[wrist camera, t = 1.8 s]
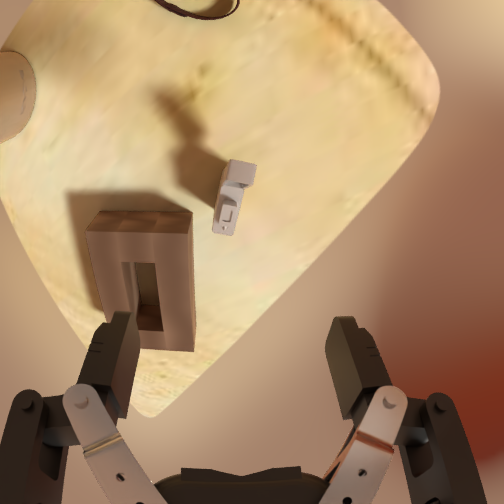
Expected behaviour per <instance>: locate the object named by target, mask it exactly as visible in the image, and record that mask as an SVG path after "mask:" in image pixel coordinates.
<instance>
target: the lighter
mask: <svg viewBox="0 0 504 504" xmlns="http://www.w3.org/2000/svg"><path fill="white" fill-rule="evenodd" d="M256 167H257V165H256V164H252V163H247V162H243V161H238V160H232V159H230V160H229V162H228V164H227V166H226V167H225V168H224V169H223V171H222V175H221V180H220V185H219V189H218V194H217V199H216V203H215V208H214V218H213V227H212V231H213V232H214V233H218V234H223V235H229V236H232V235H233V234H234V230H235V226H236V222H237V218H238V214H239V210H240V206H241V202H242V198H243V194H244V189H246V188H248V187H250V186H252V185H253V182H254V177H255V172H256Z"/></svg>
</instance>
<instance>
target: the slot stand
mask: <svg viewBox="0 0 504 504" xmlns="http://www.w3.org/2000/svg"><path fill="white" fill-rule="evenodd" d="M85 234H86V239H87V244H88V249H89V254H90V259H91V263H92V267H93V272H94V276H95V280H96V284H97V288H98V292H99V296H100V300H101V303H102V307H103V311H104V314H105V318H106V321H107V323H111V320H112V317H113V314H114V312H115V311H128V312H134V314H135V318H136V322H137V327H138V331H139V336H140V348H142V349H155V350H169V351H187V352H194V345H195V334H196V311H195V289H194V258H193V213H190V212H141V211H100V212H99V213H98V215H97V216H96V217H95V218H94V220H93V221H92V222H91V224H90V225H89V227H88V228H87V229H86V231H85ZM135 262H140V263H155V269H156V278H157V286H158V294H159V301H160V306H156V305H142V303H141V298H140V292H139V286H138V280H137V273H136V267H135Z"/></svg>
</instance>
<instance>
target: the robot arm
mask: <svg viewBox="0 0 504 504" xmlns="http://www.w3.org/2000/svg"><path fill="white" fill-rule="evenodd" d="M35 99H36V83H35V77H34V73H33V70H32V68H31V66H30V64H29V62H28V61H27V60H26V59H25V58H24V57H23V56H22V55H20V54H18V53H16V52H12V51H8V52H0V144H1V143H3V142H5V141H7V140H9V139H11V138H13V137H15V136H16V135H17V134H18V133H20V132H21V130H22V129H23V128H24V127H25V126H26V124H27V122H28V120H29V119H30V117H31V114H32V111H33V108H34V104H35ZM325 352H326V358H327V361H328V365H329V368H330V372H331V376H332V379H333V383H334V387H335V390H336V394H337V398H338V402H339V406H340V409H341V413H342V417H343V420H347V419H352V420H353V423H354V425H353V427H352V428H351V430H350V432H349V434H348V436H347V438H346V440H345V441H344V443H343V445H342V447H341V449H340V451H339V452H338V454H337V456H336V458H335V460H334V461H333V463H332V464H331V466H330V467H329V469H328V470H327V471H326V473H325V475H324V476H323V478H319V477H317V476H315V475H312V474H308V473H303V472H301V467H300V466H297V467H284V468H272V469H268V470H264V471H261V472H257V473H253V474H249V475H245V476H238V475H233V474H228V473H224V472H219V471H216V470H212V469H193V468H181V474H177V475H173V476H170V477H167V478H164V479H162V480H160V481H158V482H157V483H155V484H154V485H153V483H152V482H151V480H150V479H149V478H148V476H147V475H146V474H145V472H144V471H143V469H142V468H141V466H140V465H139V463H138V462H137V460H136V459H135V457H134V456H133V454H132V453H131V451H130V449H129V448H128V446H127V444H126V443H125V442H124V440H123V438H122V437H121V435H120V433H119V431H118V430H117V428H116V424H117V420H118V418H124V419H126V417H127V412H128V406H129V401H130V396H131V391H132V386H133V381H134V376H135V372H136V367H137V362H138V358H139V354H140V336H139V331H138V327H137V322H136V318H135V314H134V312H128V311H115V312H114V314H113V317H112V320H111V323H104V322H103V323H102V324H101V325H100V326H99V327H98V329H97V330H96V331H95V333H94V335H93V338H92V341H91V344H90V346H89V349H88V352H87V355H86V358H85V360H84V363H83V366H82V369H81V372H80V375H79V378H78V381H77V383H76V385H73V386H71V387H70V388H69V389H68V390H67V391H66V392H65V394H63V395H59V396H52V397H41V395H40V394H39V393H38V392H36V391H35V390H30V389H29V390H23V391H21V392H20V393H18V394H17V395H16V397H15V398H14V400H13V402H12V406H11V409H10V412H9V415H8V418H7V422H6V425H5V429H4V432H3V436H2V440H1V444H0V504H61V501H62V492H63V483H64V476H65V468H66V462H67V455H68V449H69V446H72V445H81V446H82V448H83V450H84V452H83V454H84V457H85V459H86V461H87V463H88V465H89V467H90V469H91V471H92V472H93V474H94V476H95V478H96V480H97V481H98V483H99V485H100V486H101V488H102V490H103V491H104V493H105V495H106V497H107V498H108V500H109V501H110V503H111V504H371V503H372V501H373V499H374V497H375V495H376V493H377V491H378V489H379V487H380V484H381V482H382V480H383V478H384V476H385V474H386V471H387V469H388V467H389V464H390V462H391V460H392V457H393V454H394V449H392V447H393V445H398V446H399V450H400V454H401V458H402V462H403V466H404V471H405V475H406V480H407V484H408V489H409V493H410V498H411V503H412V504H487V501H486V497H485V494H484V490H483V487H482V483H481V480H480V477H479V473H478V470H477V466H476V463H475V460H474V457H473V454H472V452H471V448H470V445H469V443H468V439H467V437H466V434H465V431H464V428H463V426H462V423H461V420H460V418H459V415H458V412H457V410H456V407H455V405H454V403H453V401H452V399H451V398H450V397H448V396H447V395H445V394H443V393H433V394H431V395H430V396H429V397H428V398H427V399H426V400H423V399H416V398H409V397H406V396H405V394H404V393H403V392H402V391H401V390H400V389H398V388H396V387H394V386H393V385H392V383H391V380H390V378H389V375H388V373H387V370H386V368H385V365H384V363H383V360H382V358H381V357H380V353H379V351H378V349H377V346H376V344H375V341H374V339H373V337H372V336H371V334H370V333H369V332H368V331H367V330H366V329H365V328H358V325H357V323H356V320H355V318H354V317H353V316H341V317H335V318H334V319H333V322H332V325H331V328H330V331H329V334H328V337H327V340H326V345H325Z"/></svg>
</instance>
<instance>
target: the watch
mask: <svg viewBox="0 0 504 504" xmlns="http://www.w3.org/2000/svg"><path fill="white" fill-rule="evenodd" d="M155 1H157V2H158V3H159V4H160V5H162V6H163V7H164V8H166V9H168V10H169V11H170V12H173V13H175V14H177V15H179V16H182V17H187V16H189V17H191V18H195V19H201V20H216V19H221V18H224V17H226V16H229V15H230V14H232V13H233V12H235V11H236V9H237V8H238V6H239V3H240V0H237V5H236V7H235V9H234V10H233V11H232V12H230V13H229V14H227V15H224V16H220V17H202V16H198V15H195V14H192V13H190V12H187V11H185V10H183V9H181V8H179V7H178V6H175V5H173V4H168V3H167V2H166V1H164V0H155Z"/></svg>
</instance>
